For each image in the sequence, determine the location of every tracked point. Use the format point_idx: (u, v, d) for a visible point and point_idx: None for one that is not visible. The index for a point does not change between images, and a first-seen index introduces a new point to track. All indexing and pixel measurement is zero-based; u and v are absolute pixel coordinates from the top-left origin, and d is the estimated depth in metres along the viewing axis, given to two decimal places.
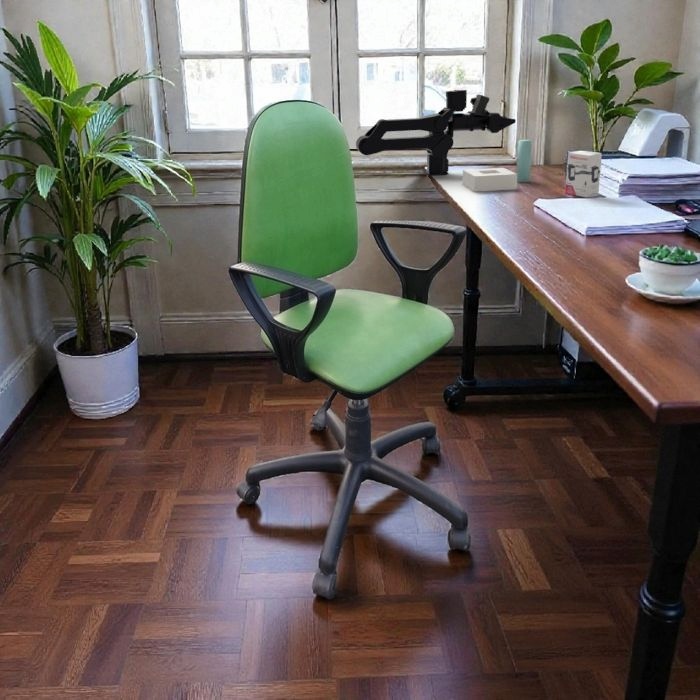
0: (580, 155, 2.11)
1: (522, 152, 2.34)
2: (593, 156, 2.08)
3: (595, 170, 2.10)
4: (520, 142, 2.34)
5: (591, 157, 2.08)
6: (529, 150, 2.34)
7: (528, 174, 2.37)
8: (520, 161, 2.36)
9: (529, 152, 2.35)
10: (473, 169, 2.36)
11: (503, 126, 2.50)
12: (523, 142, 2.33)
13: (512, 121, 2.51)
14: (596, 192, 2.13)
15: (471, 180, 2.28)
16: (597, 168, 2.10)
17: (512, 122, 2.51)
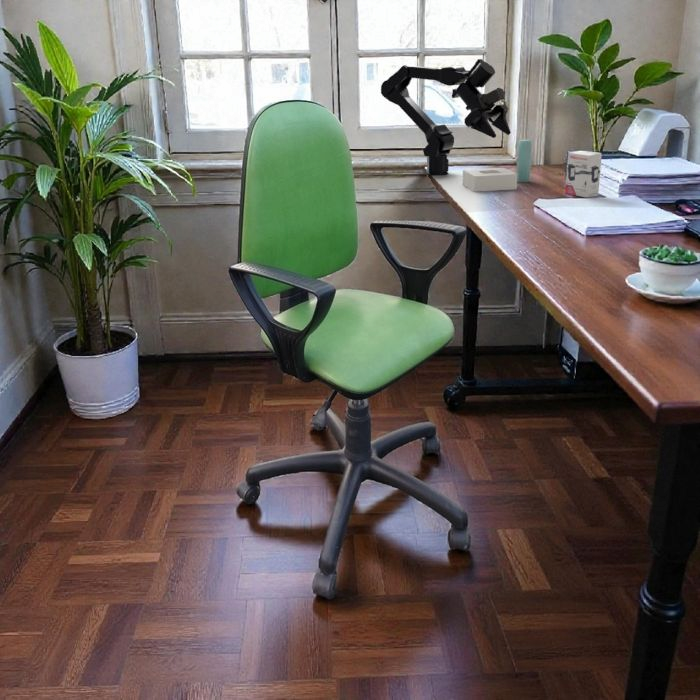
0: (580, 155, 2.11)
1: (522, 152, 2.34)
2: (593, 156, 2.08)
3: (595, 170, 2.10)
4: (520, 142, 2.34)
5: (591, 157, 2.08)
6: (529, 150, 2.34)
7: (528, 174, 2.37)
8: (520, 161, 2.36)
9: (529, 152, 2.35)
10: (473, 169, 2.36)
11: (481, 129, 2.37)
12: (523, 142, 2.33)
13: (492, 134, 2.36)
14: (596, 191, 2.13)
15: (471, 180, 2.28)
16: (597, 168, 2.10)
17: (491, 135, 2.36)
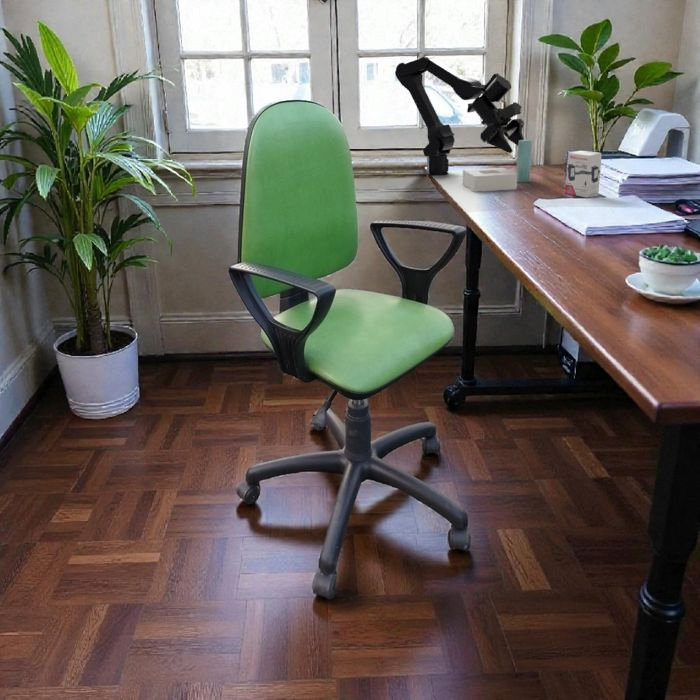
0: (580, 155, 2.11)
1: (522, 152, 2.34)
2: (593, 156, 2.08)
3: (595, 170, 2.10)
4: (520, 142, 2.34)
5: (591, 157, 2.08)
6: (529, 150, 2.34)
7: (528, 174, 2.37)
8: (520, 161, 2.36)
9: (529, 152, 2.35)
10: (473, 169, 2.36)
11: (497, 144, 2.35)
12: (523, 142, 2.33)
13: (508, 149, 2.34)
14: (596, 191, 2.13)
15: (471, 180, 2.28)
16: (597, 168, 2.10)
17: (507, 150, 2.34)
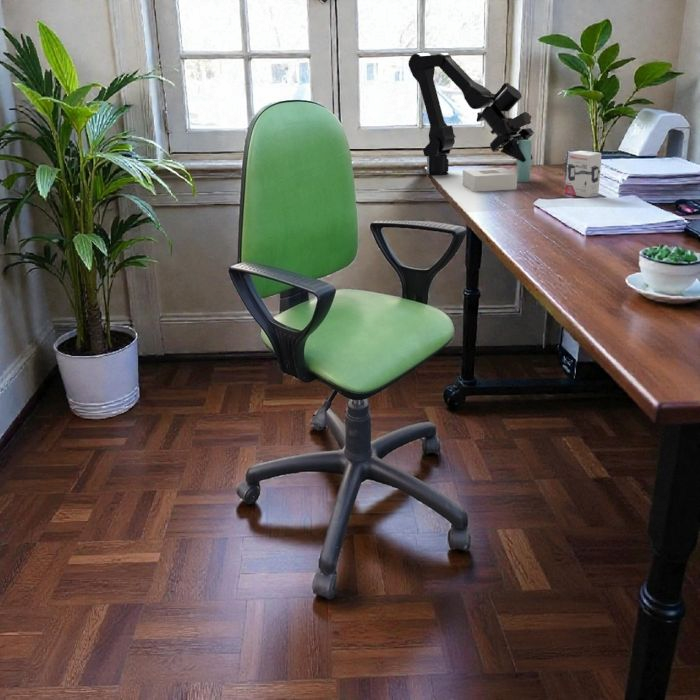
0: (580, 155, 2.11)
1: (522, 152, 2.34)
2: (593, 156, 2.08)
3: (595, 170, 2.10)
4: (520, 142, 2.34)
5: (591, 157, 2.08)
6: (529, 150, 2.34)
7: (528, 174, 2.37)
8: (520, 161, 2.36)
9: (529, 152, 2.35)
10: (473, 169, 2.36)
11: (510, 153, 2.35)
12: (523, 142, 2.33)
13: (522, 158, 2.35)
14: (596, 191, 2.13)
15: (471, 180, 2.28)
16: (597, 168, 2.10)
17: (521, 159, 2.35)
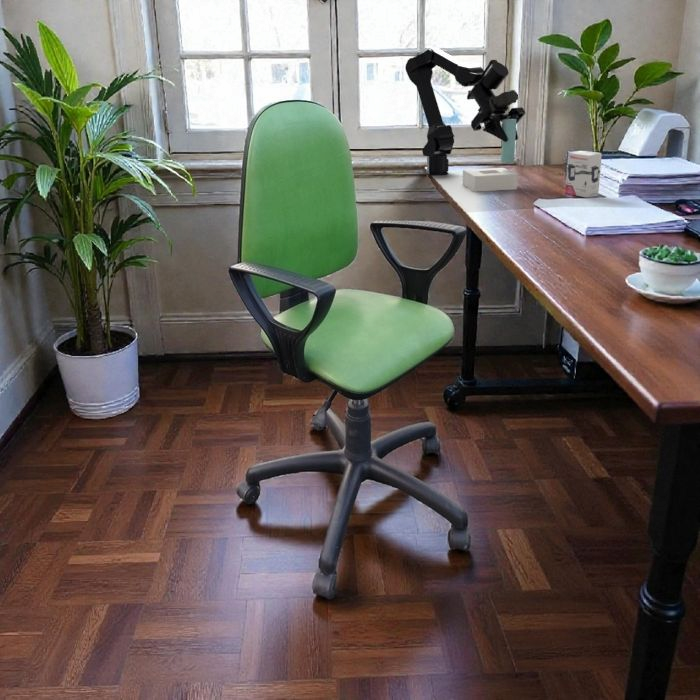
0: (580, 155, 2.11)
1: (505, 131, 2.28)
2: (593, 156, 2.08)
3: (595, 170, 2.10)
4: (503, 121, 2.27)
5: (591, 157, 2.08)
6: (512, 129, 2.27)
7: (511, 154, 2.30)
8: (503, 141, 2.29)
9: (513, 132, 2.27)
10: (473, 169, 2.36)
11: (493, 132, 2.29)
12: (506, 121, 2.27)
13: (504, 138, 2.28)
14: (596, 191, 2.13)
15: (471, 180, 2.28)
16: (597, 168, 2.10)
17: (503, 139, 2.28)
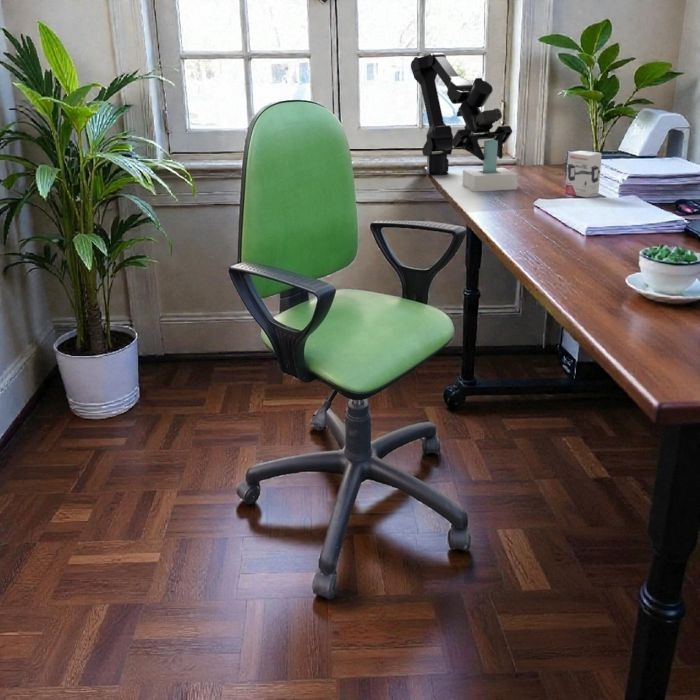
0: (580, 155, 2.11)
1: (485, 153, 2.27)
2: (593, 156, 2.08)
3: (595, 170, 2.10)
4: (484, 142, 2.27)
5: (591, 157, 2.08)
6: (492, 151, 2.26)
7: None
8: (483, 162, 2.29)
9: (493, 154, 2.27)
10: (473, 169, 2.36)
11: (471, 151, 2.29)
12: (486, 143, 2.26)
13: (481, 156, 2.27)
14: (596, 191, 2.13)
15: (471, 180, 2.28)
16: (597, 168, 2.10)
17: (480, 157, 2.27)
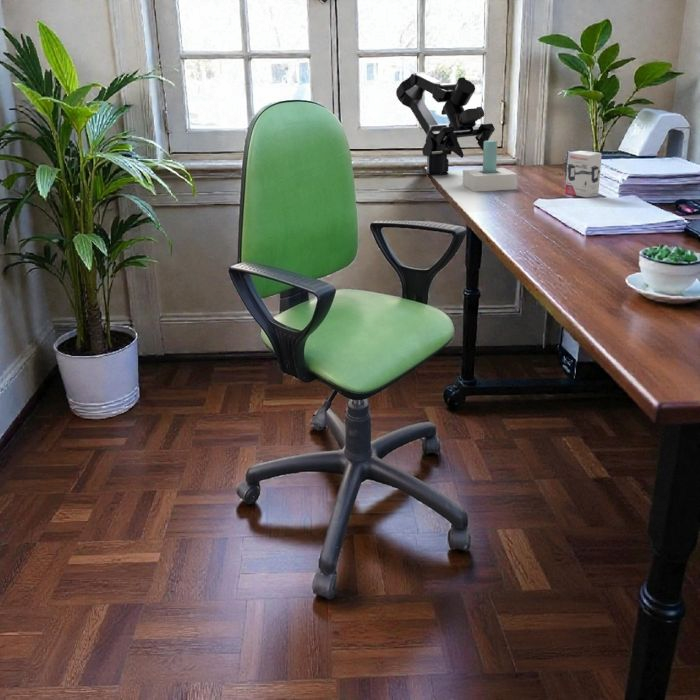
0: (580, 155, 2.11)
1: (485, 153, 2.28)
2: (593, 156, 2.08)
3: (595, 170, 2.10)
4: (484, 142, 2.27)
5: (591, 157, 2.08)
6: (492, 151, 2.27)
7: None
8: (483, 162, 2.29)
9: (492, 153, 2.27)
10: (473, 169, 2.36)
11: (451, 148, 2.37)
12: (485, 143, 2.26)
13: (460, 154, 2.35)
14: (596, 191, 2.13)
15: (471, 180, 2.28)
16: (597, 168, 2.10)
17: (459, 154, 2.35)
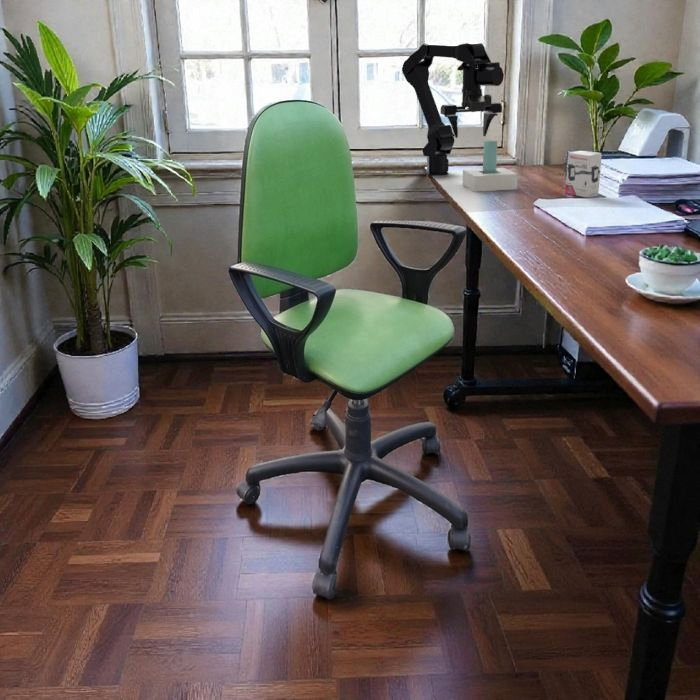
0: (580, 155, 2.11)
1: (485, 153, 2.28)
2: (593, 156, 2.08)
3: (595, 170, 2.10)
4: (484, 142, 2.27)
5: (591, 157, 2.08)
6: (492, 151, 2.27)
7: None
8: (483, 162, 2.29)
9: (492, 153, 2.27)
10: (473, 169, 2.36)
11: (451, 122, 2.43)
12: (485, 143, 2.26)
13: None
14: (596, 191, 2.13)
15: (471, 180, 2.28)
16: (597, 168, 2.10)
17: (454, 133, 2.43)
